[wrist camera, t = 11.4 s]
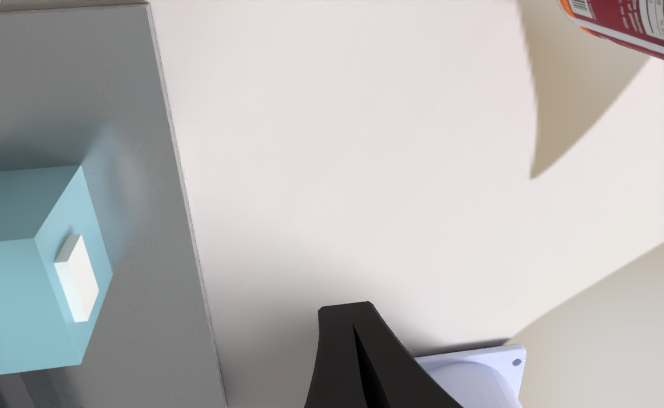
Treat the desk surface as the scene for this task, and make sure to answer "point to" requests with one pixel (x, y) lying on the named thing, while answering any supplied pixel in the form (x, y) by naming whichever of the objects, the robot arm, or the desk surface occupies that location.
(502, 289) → the desk surface
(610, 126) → the desk surface
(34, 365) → the block
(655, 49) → the pill bottle
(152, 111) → the rail board
